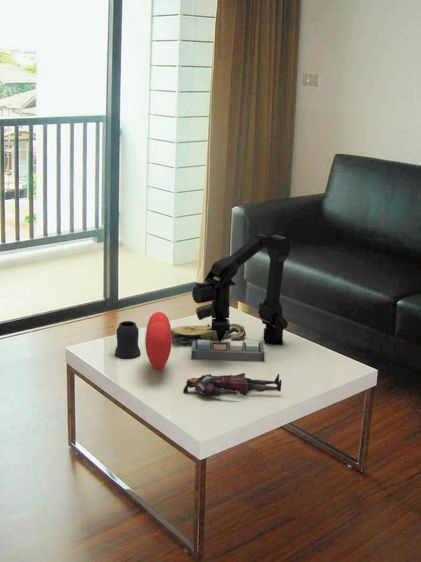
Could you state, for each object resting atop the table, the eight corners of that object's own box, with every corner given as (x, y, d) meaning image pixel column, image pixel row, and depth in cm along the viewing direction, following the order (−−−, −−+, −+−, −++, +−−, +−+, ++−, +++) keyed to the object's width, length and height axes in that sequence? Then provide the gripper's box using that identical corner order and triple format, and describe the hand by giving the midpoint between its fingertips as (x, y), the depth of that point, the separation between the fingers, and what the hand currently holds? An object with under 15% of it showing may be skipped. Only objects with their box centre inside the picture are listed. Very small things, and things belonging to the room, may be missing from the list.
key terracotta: (225, 350, 261) (226, 344, 260) (226, 355, 257) (226, 349, 256) (213, 350, 261) (213, 344, 260) (213, 355, 257) (213, 348, 256)
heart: (146, 359, 253) (146, 307, 248) (171, 359, 254) (172, 307, 248) (143, 383, 234) (144, 328, 229) (171, 384, 235) (172, 328, 229)
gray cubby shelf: (262, 350, 264) (262, 342, 263) (264, 361, 254) (264, 353, 253) (192, 348, 264) (192, 340, 263) (191, 359, 254) (191, 351, 253)
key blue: (210, 346, 261) (210, 340, 260) (210, 351, 256) (210, 344, 256) (197, 346, 261) (197, 339, 260) (197, 350, 256) (197, 344, 256)
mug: (141, 358, 253) (142, 328, 250) (115, 359, 252) (114, 328, 249) (139, 345, 265) (139, 316, 261) (113, 346, 263) (113, 316, 260)
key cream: (241, 347, 261) (242, 341, 260) (242, 352, 256) (242, 345, 256) (229, 347, 261) (229, 340, 260) (229, 351, 256) (229, 345, 256)
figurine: (283, 385, 224) (184, 384, 222) (281, 403, 225) (183, 401, 223) (277, 368, 236) (183, 367, 234) (275, 385, 238) (182, 383, 235)
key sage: (257, 348, 260) (258, 341, 260) (258, 352, 256) (258, 346, 256) (245, 347, 260) (245, 341, 260) (245, 352, 256) (246, 346, 256)
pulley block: (250, 327, 268) (168, 330, 262) (250, 343, 268) (168, 346, 263) (241, 320, 281) (163, 323, 276) (241, 335, 282) (163, 338, 277)
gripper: (198, 289, 262) (197, 331, 266) (196, 306, 244) (195, 350, 249) (230, 290, 262) (228, 332, 266) (230, 307, 244) (228, 351, 249)
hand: (219, 341), depth 258 cm, fingers closed
